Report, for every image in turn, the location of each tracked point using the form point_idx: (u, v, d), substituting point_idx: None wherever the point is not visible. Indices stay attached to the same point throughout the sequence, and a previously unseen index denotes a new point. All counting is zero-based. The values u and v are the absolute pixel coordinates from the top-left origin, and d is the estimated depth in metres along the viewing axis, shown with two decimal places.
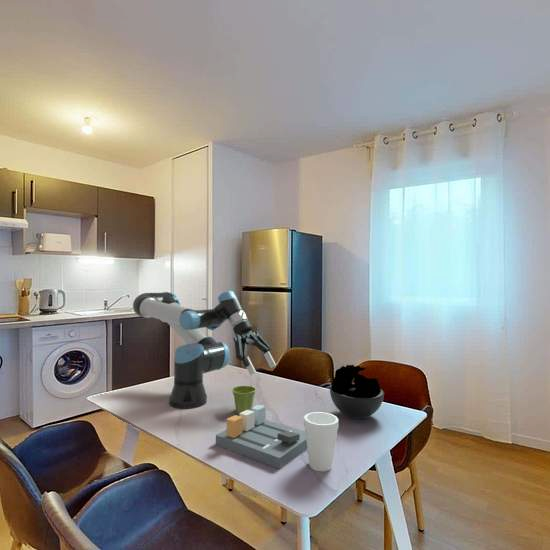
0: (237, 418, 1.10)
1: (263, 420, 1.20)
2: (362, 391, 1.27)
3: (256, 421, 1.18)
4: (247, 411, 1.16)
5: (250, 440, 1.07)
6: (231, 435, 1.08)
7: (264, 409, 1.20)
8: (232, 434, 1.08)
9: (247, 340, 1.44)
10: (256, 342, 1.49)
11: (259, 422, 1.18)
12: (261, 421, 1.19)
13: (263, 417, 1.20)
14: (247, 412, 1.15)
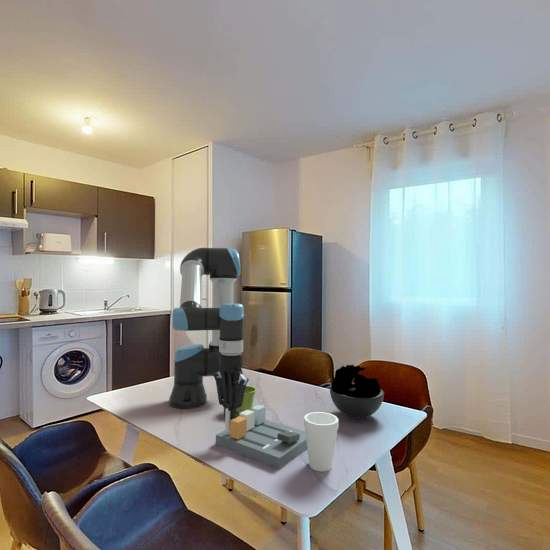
0: (241, 419, 1.09)
1: (263, 420, 1.20)
2: (362, 391, 1.27)
3: (256, 421, 1.18)
4: (247, 411, 1.16)
5: (250, 440, 1.07)
6: (235, 436, 1.07)
7: (264, 409, 1.20)
8: (236, 435, 1.07)
9: (223, 382, 1.11)
10: None
11: (259, 422, 1.18)
12: (261, 421, 1.19)
13: (263, 417, 1.20)
14: (247, 412, 1.15)
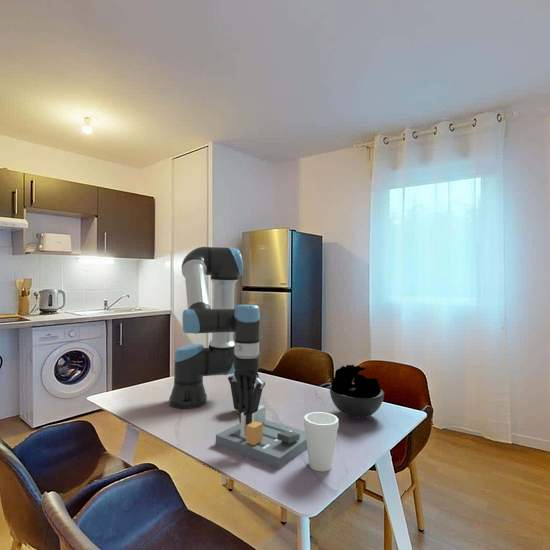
0: (257, 424, 1.06)
1: (263, 420, 1.20)
2: (362, 391, 1.27)
3: (256, 421, 1.18)
4: None
5: None
6: (251, 442, 1.04)
7: (264, 409, 1.20)
8: (252, 441, 1.03)
9: (239, 386, 1.07)
10: None
11: None
12: (261, 421, 1.19)
13: (263, 417, 1.20)
14: None
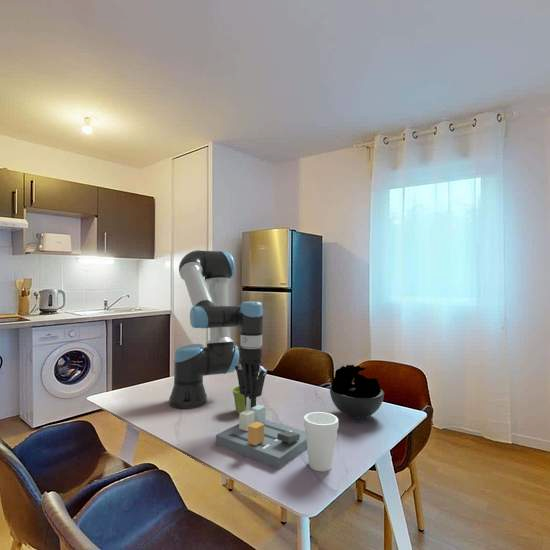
0: (258, 424, 1.05)
1: (263, 420, 1.20)
2: (362, 391, 1.27)
3: (256, 421, 1.18)
4: (247, 411, 1.16)
5: None
6: (253, 443, 1.03)
7: (264, 409, 1.20)
8: (254, 442, 1.03)
9: (244, 373, 1.21)
10: None
11: None
12: (261, 421, 1.19)
13: (263, 417, 1.20)
14: (247, 412, 1.15)
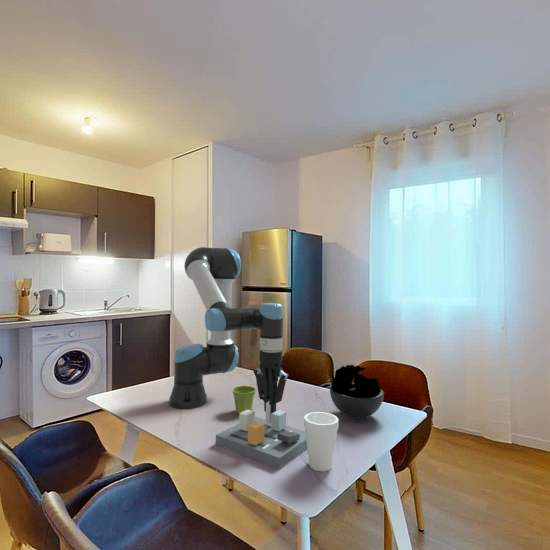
0: (258, 424, 1.05)
1: (284, 426, 1.15)
2: (362, 391, 1.27)
3: (277, 427, 1.13)
4: (247, 411, 1.16)
5: None
6: (253, 443, 1.03)
7: (285, 415, 1.16)
8: (254, 442, 1.03)
9: (264, 377, 1.17)
10: None
11: (280, 428, 1.13)
12: (282, 427, 1.14)
13: (284, 423, 1.15)
14: (247, 412, 1.15)
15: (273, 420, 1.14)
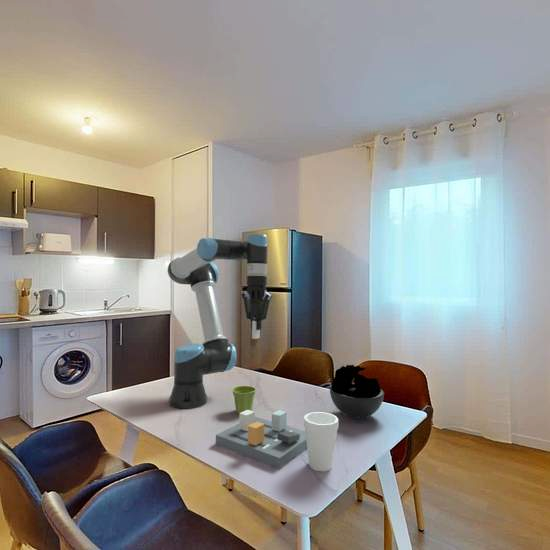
0: (258, 424, 1.05)
1: (284, 426, 1.15)
2: (362, 391, 1.27)
3: (277, 427, 1.13)
4: (247, 411, 1.16)
5: None
6: (253, 443, 1.03)
7: (285, 415, 1.15)
8: (254, 442, 1.03)
9: (250, 299, 1.33)
10: None
11: (280, 428, 1.13)
12: (282, 427, 1.14)
13: (284, 423, 1.15)
14: (247, 412, 1.15)
15: (273, 420, 1.14)
